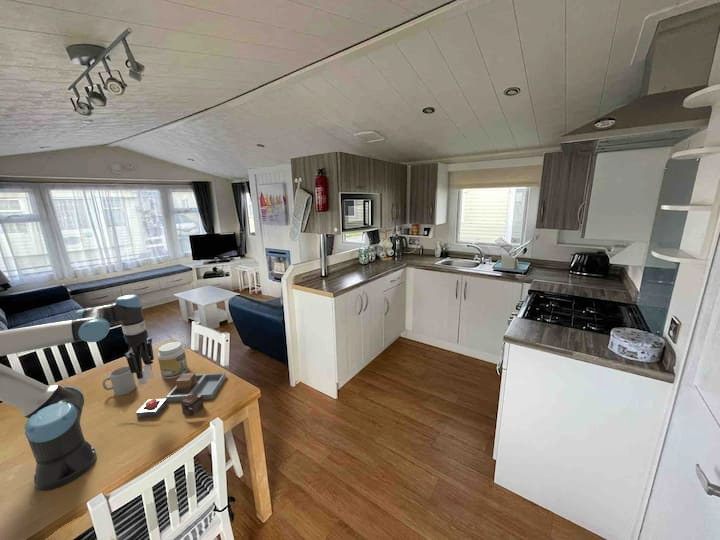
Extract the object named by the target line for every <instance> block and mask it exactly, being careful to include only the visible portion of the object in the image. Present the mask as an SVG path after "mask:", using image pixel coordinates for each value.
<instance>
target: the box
mask: <svg viewBox="0 0 720 540" xmlns="http://www.w3.org/2000/svg"><path fill="white" fill-rule="evenodd" d="M180 404H181V405H180V406H181V408H182V411H181V412H182V414H184V415H189V416H193V417H194V416H195V415H196V414H197V413H198V412H200V410H202V409H203V408H204V407H205V406H204V400H203V398H202V395H199V394H194V393H191V394H190V395H188V396H187V397H186V398H184V399H183V400H182V401H180Z"/></svg>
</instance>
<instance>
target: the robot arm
mask: <svg viewBox="0 0 720 540" xmlns="http://www.w3.org/2000/svg"><path fill="white" fill-rule="evenodd" d="M145 320H146V319H145V315H144V310H143V305H142V302H141V298H140V296H139V295H137V294H127V295H126V294H125V295H123V296H122V295H121V296H118V297H117V298H116V299H115V302H114V303H110V304H105V305H100V306H99V305H98V306H92V307H86V308H83V309H78V310H76V311H74V319H71V320H70V319H69V320H63V321H57V322H51V323H50V322H49V323H43V324H37V325H30V326H25V327H19V328H11V329H5V330H0V357H4V356H9V355H13V354H20V353H25V352H30V351H34V350H35V351H36V350H39V349H45V348H50V347H57V346H60V345H65V344H71V343H77V342H82V341H84V342H86V343H87V342H88V343H97V342H100V341H102V340H103V339H105V338H106V337H107V335H108V334H109V332H110V328H111V324H114V323H119V322H120V324H121V329H122V333H123V334H124V335H123V338H124V340H125V341H124V342H125V343H126V344H127V345H128V351H127V352H125V353H124V357H125V359H126V361H127V364H128V366H129V368H130V371H131V373H133V374H135V375H136V378H137V380H138V385H148V382H147V381H148V380H147V379H153V378H154V375H153V371H152V369H153V368H152V364H153V363H154V359H155V358H154V357H155V356H154V351H153V350H154V349H153V344H152V343H153V338H149V334H148V330H147V326H146V321H145ZM0 401H1V402H3V403H5V404H8V405H10V406H13V407H15V408H18V409H20V410H21V416H22V417H24V418H27V421H26V422H25V425H24V435H25V438H26V439H27V441H28V443H29V446H30V449H31V451H32V455H33V456H34V460H35V463H36V465H35V466H36V467H35V474H34V476H33V483H34V486H35V488H36V489H37V490H39V491H51V490H55V489H57V488H61V487H62V486H65V485H67V484H69V483H71V482H73V481H74V480H76V479H78V478H79V477H80V476H82V475H83V474H84V473H86V472H87V471H88V470H89V469H90V468H91V467H92V466H93V465H94V463H95V462H96V460H97V452H96V449H95V447H93V446H92V445H91V444H90V443H89V442H88V441H87V440H86V439H85V437H84V433H83V430H82V427H81V419H82V414H83V413H82V411H83V408H84V405H85V397H84V393H83V392H82V390H81V389H80V388H77V387H75V386H69V385H67V386H61V385H59V384H56V383H55V384H50V385H47V384H44V383H43V382H40V381H38V380H36V379H34V378H32V377H30V376H27V375H25V374H23V373H22V372H19V371H18V370H15V369H14V368H11V367H8V366H7V365H4V364H2V363H0Z"/></svg>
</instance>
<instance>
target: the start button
mask: <svg viewBox="0 0 720 540" xmlns="http://www.w3.org/2000/svg"><path fill="white" fill-rule="evenodd" d="M151 399H152V398H151ZM151 399H149V400H150V401H148V400H147V401H148V402H147V401H146V402H147V403H146V402H145V403H146V408H147V409H155V407H156V406H157V405H158V404H157V400H156V399H157V398H156V399H155V398H154V399H152V400H151Z"/></svg>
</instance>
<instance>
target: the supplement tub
mask: <svg viewBox="0 0 720 540" xmlns="http://www.w3.org/2000/svg"><path fill="white" fill-rule="evenodd" d="M157 360H158V364H159V369H160V374H161V377H162V378H163V379H167V380H169V379H175V378H177V377H178V378H179V377H180V376H181V375H182V374H184V373H186V372H188V370H189V369H188V367H189V366H188V361H187V356H186V349H185V348H184V347H183V345H182V343H181V341H171V342H168V343H165V344H162V345H161V346H159V347H158V354H157Z"/></svg>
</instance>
